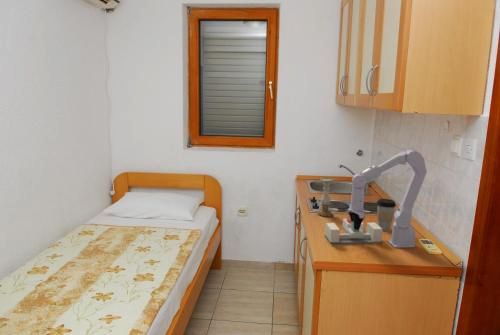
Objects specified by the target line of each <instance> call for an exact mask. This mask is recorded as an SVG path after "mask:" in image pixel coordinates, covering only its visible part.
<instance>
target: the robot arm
mask: <svg viewBox="0 0 500 335" xmlns="http://www.w3.org/2000/svg"><path fill="white" fill-rule="evenodd" d="M407 164H408V165H409V166H410V167H411V169H412V171H413V173H412V176H411V177H410V181H409V183H408V185H407V188H406V191H405V193H404V195H403V196H404V197H403V198H402V201H401V202H400V205H399V206H398V208H397V209H396V210H394V215H393V219H394V222H393V223H392V232H391V239H387V242H388V243H389V244H390V245H391V246H392V247H394V248H395V249H396V248H415V247H416V246H415V241H416V240H415V239H416V229H415V226H413V225H411V223H412V219H411V217H412V215H413V208H414V205H415V203H416V200H417V197H418V195H419V194H420V190H421V187H422V185H423V183H424V180H425V178H426V175H427V166H426V163H425V158H424V157H423V155H422V154H421V153H420V152H419V151H418V150H417V149H415V148H407V149H406V150H403V151H401V152H399V153H397V154H396V155H394V156H392V157H390V158H389V159H387V160H386V161H384V162H383V163H380V164H379V165H375V164H374V165H369V166H368V168H367V169H364V170H362V171H359V173H356V174H354V175H353V176H352V179H351V182H352V185H351V194H350V195H351V196H350V204H349V208H347V211H348V215H349V216H350V219H351V221H354V229H355V230H359V229H360V226H361V223H363V221H364V219H365V218H366V215H365V210H364V203H365V192H366V191H365V186H366V184H369V183H371V182H372V181H374V180H376V179H378V178H380V177H381V176H382V173H384V172H386V171H388V170H389V169H391V168H393V167H395V166H397V165H404V166H405V165H407Z"/></svg>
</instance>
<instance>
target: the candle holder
mask: <svg viewBox="0 0 500 335" xmlns="http://www.w3.org/2000/svg"><path fill="white" fill-rule="evenodd" d="M319 181H320V182H321V183H322V184H323V187H322V190H323V194H322V196H321V199H320V203H321V205H320V206H321V209H319V210H317V211H316V214H317V215H318V216H320V215H321V217H332V216H333V214H334V212H332V210H331V209H330V203H331V197H330V195H329V192H330V185H331V183H334V179H332V178H329V177H322V178H321V177H320V178H319Z"/></svg>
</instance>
